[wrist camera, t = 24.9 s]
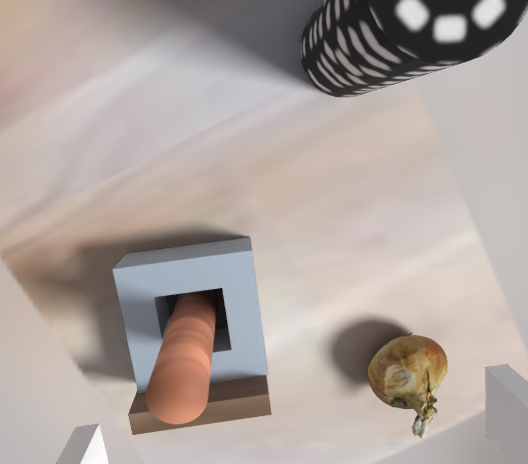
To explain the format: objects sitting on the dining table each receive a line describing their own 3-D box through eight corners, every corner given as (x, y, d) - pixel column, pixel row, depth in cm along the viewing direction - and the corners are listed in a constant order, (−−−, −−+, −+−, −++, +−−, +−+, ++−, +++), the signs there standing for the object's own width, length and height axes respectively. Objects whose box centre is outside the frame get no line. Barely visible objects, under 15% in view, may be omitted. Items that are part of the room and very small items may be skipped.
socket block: (126, 253, 42) (112, 269, 38) (250, 237, 43) (251, 250, 38) (149, 365, 45) (138, 393, 40) (265, 349, 45) (268, 374, 41)
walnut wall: (147, 365, 45) (128, 414, 37) (263, 349, 45) (268, 394, 38) (150, 383, 46) (132, 434, 38) (265, 366, 46) (271, 414, 38)
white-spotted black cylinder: (391, 95, 41) (533, 60, 21) (301, 99, 40) (362, 68, 21) (392, -3, 39) (549, -140, 19) (298, 0, 38) (363, -137, 19)
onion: (448, 352, 47) (490, 396, 39) (393, 402, 48) (424, 454, 40) (401, 307, 45) (435, 343, 38) (345, 360, 46) (368, 405, 39)
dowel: (173, 287, 43) (139, 373, 28) (213, 281, 44) (202, 364, 28) (180, 324, 44) (151, 428, 29) (219, 319, 44) (212, 419, 29)
